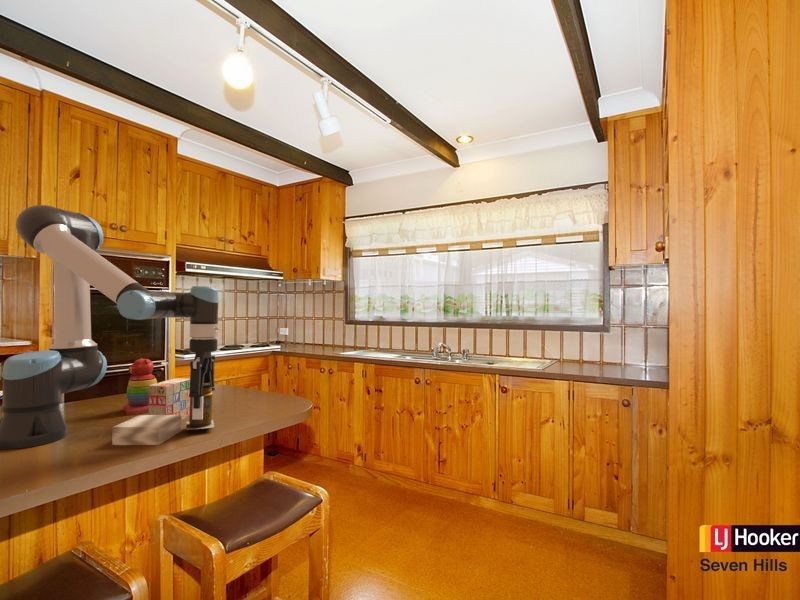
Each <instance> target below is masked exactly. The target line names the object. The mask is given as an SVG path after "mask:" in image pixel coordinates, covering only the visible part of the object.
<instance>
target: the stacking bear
mask: <svg viewBox="0 0 800 600" xmlns="http://www.w3.org/2000/svg"><path fill="white" fill-rule="evenodd" d="M153 371H154V363H153V361H152V360H150V359H148V358H142V357H141V358H139V359H136V360H134V362H133V363H132V364H131V365H130V366H129V367H128V372H129V374H131V376H130V378H129V380H128V384H127V389H126V398H127V401H128V403H126V404H123V406H122V411H124V412H125V414H126V415H128V416H131V415H132V416H133V415H134V416H135V415H142V414H145V413H148V395H149V385H152V384H157V383H158V380H157V378H156V377H155V375H154V374H153Z"/></svg>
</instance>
